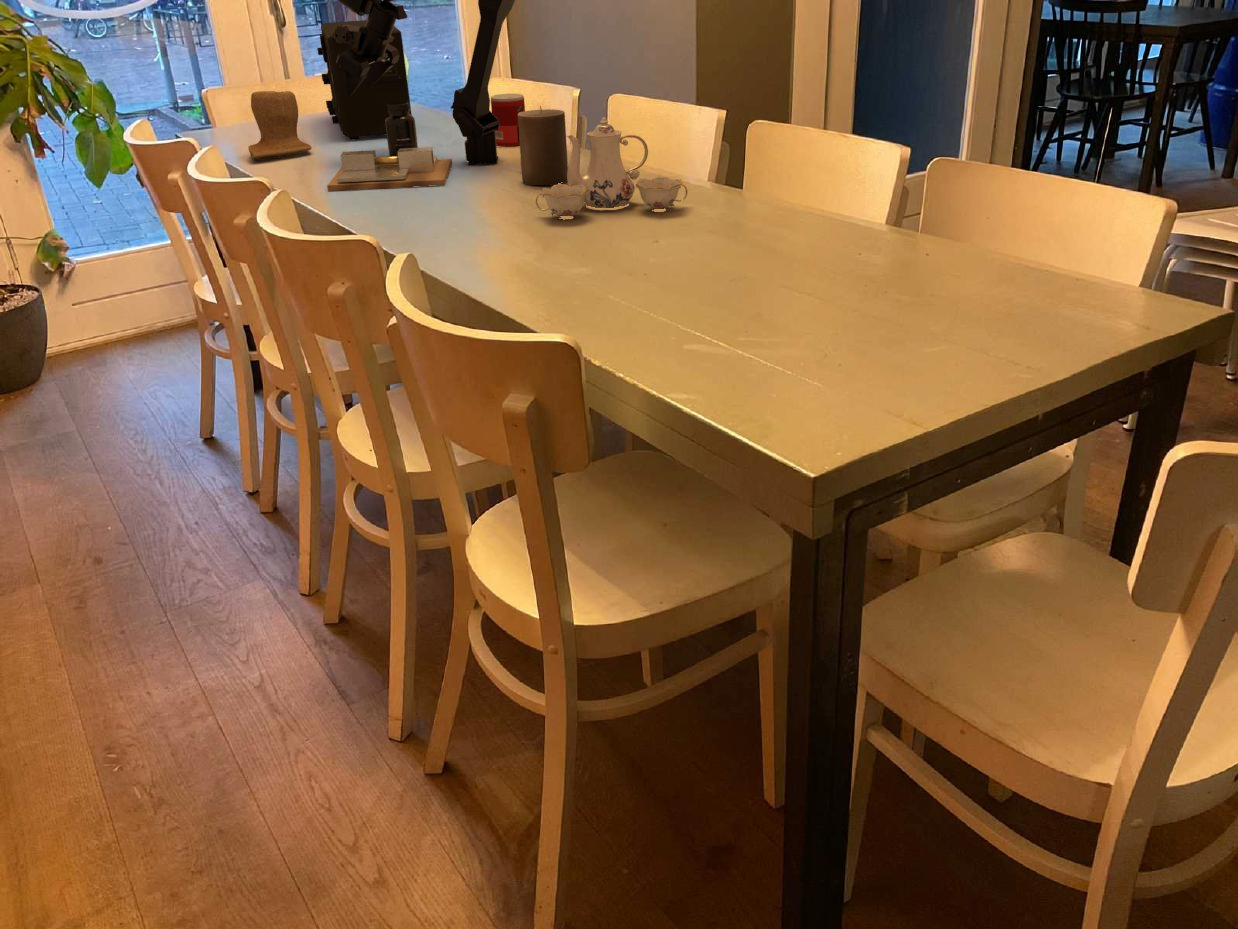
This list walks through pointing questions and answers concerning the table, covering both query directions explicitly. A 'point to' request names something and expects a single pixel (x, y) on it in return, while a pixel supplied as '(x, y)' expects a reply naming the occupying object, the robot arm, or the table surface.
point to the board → (411, 180)
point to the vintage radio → (361, 87)
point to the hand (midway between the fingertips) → (358, 91)
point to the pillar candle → (543, 146)
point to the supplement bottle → (400, 128)
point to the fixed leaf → (414, 160)
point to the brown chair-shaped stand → (276, 125)
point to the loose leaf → (368, 167)
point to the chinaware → (607, 178)
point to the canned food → (507, 117)
